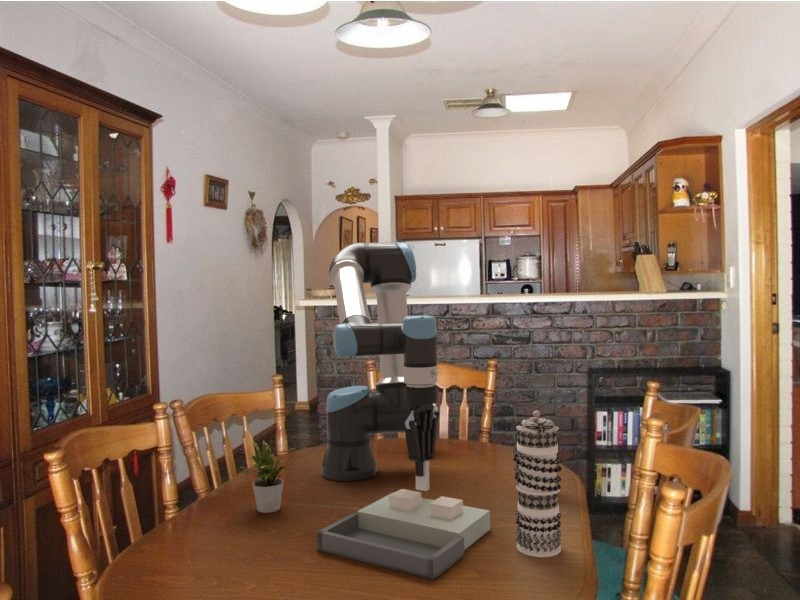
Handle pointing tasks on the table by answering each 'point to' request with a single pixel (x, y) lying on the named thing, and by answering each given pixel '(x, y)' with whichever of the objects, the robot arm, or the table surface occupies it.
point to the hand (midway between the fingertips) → (422, 489)
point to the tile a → (405, 499)
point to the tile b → (446, 507)
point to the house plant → (267, 480)
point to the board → (424, 523)
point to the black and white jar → (537, 488)
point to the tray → (388, 549)
